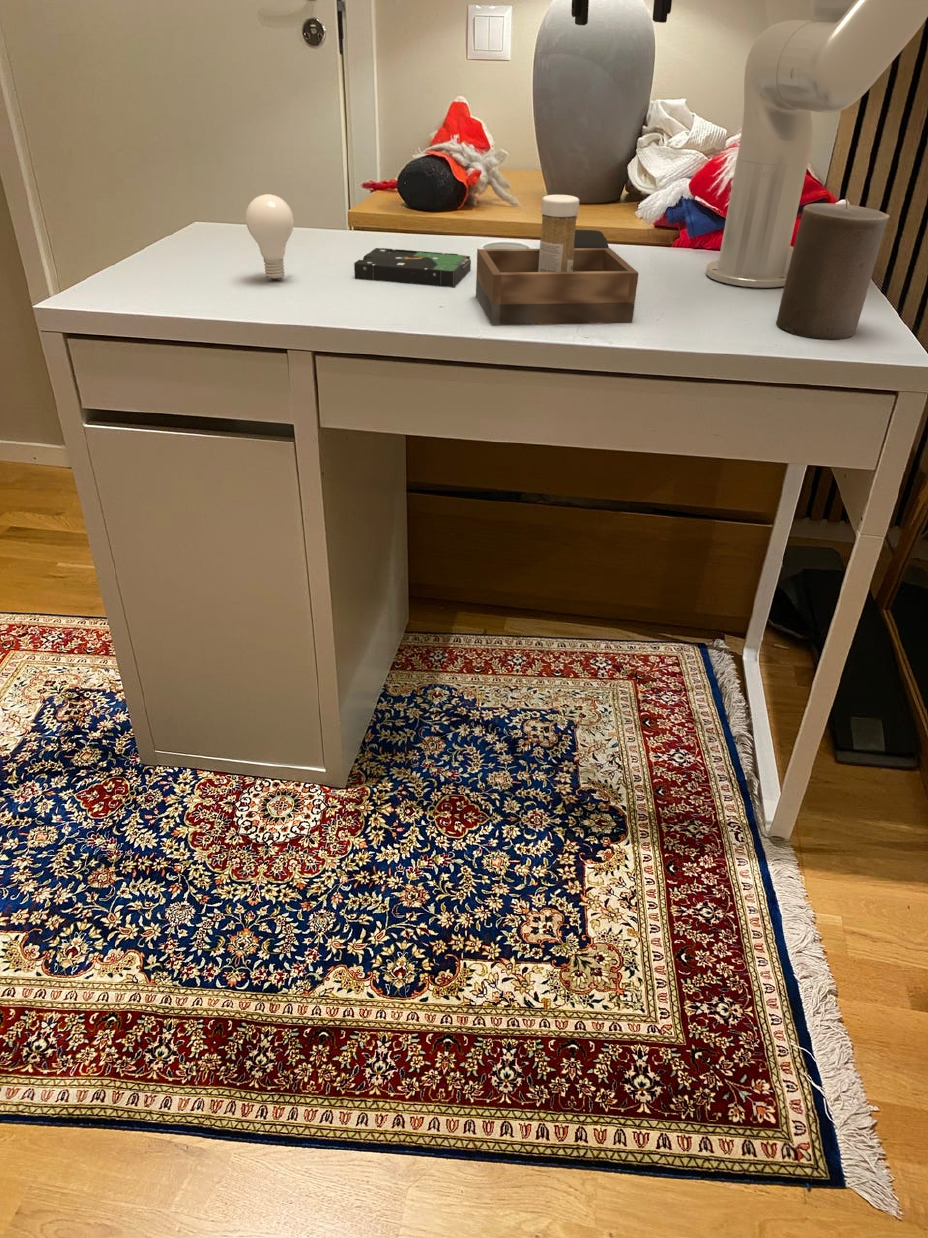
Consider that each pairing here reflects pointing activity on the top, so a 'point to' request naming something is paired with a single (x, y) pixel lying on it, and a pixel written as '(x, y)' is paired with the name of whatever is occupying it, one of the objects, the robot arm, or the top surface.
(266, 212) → the lightbulb
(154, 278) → the top surface
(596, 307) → the wooden box
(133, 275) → the top surface
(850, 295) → the pillar candle
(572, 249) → the spice jar
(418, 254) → the disk drive
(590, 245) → the carrying case or bag
